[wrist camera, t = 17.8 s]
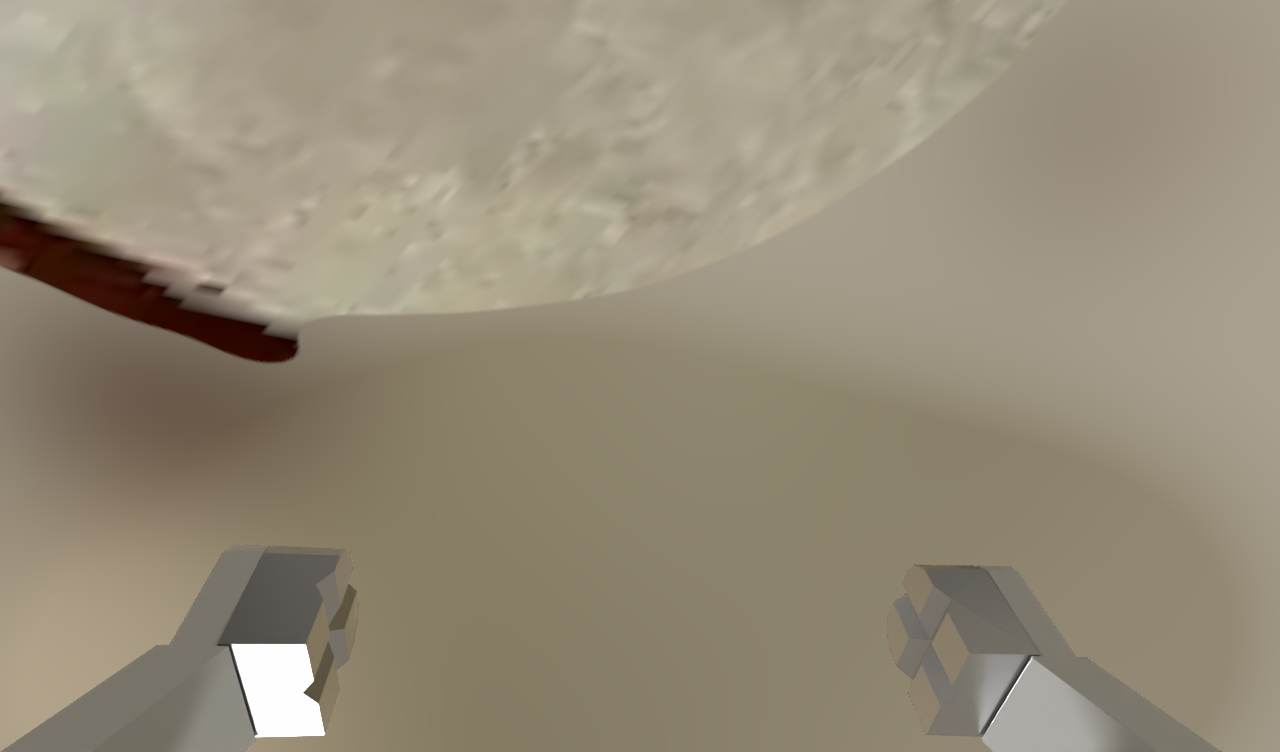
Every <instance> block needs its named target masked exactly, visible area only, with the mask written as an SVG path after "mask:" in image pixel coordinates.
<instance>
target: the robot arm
mask: <svg viewBox="0 0 1280 752" xmlns="http://www.w3.org/2000/svg"><path fill="white" fill-rule="evenodd" d="M353 569H354V568H353V562H352V557H351V552H350V551H348V550H346V549H330V548H310V547H289V546H259V545H239V544H233V545H232V546H230V547H229V548H228V549H227V550H226V551H224V552H223V553H222V555H221V557H220V558H219V560H218V562H217V563H216V565H215V567H214V569H213V570H212V572H211V574H210V576H209V577H208V579H207V581H206V582H205V584H204V586H203V587H202V589H201V591H200V593H199V594H198V596H197V598H196V599H195V601H194V603H193V605H192V606H191V608H190V610H189V612H188V613H187V615H186V617H185V618H184V620H183V622H182V624H181V625H180V627H179V629H178V630H177V632H176V634H175V636H174V638H173V639H172V641H171V643H170V644H169V645H156V646H155V647H153V648H152V649H150V650H149V651H147V652H146V653H145V654H143V655H142V656H140V657H139V658H137V659H136V660H134V661H133V662H131V663H130V664H128V665H127V666H126V667H124V668H123V669H121V670H120V671H118V672H117V673H115V674H114V675H112V676H111V677H109V678H108V679H106V680H105V681H103V682H102V683H100V684H99V685H98V686H96V687H95V688H93V689H92V690H90V691H89V692H87V693H86V694H84V695H83V696H81V697H80V698H79V699H77V700H76V701H74V702H73V703H71V704H70V705H69V706H67V707H65V708H64V709H62V710H61V711H60V712H58V713H57V714H55V715H54V716H52V717H51V718H49V719H48V720H47V721H45V722H43V723H42V724H41V725H39V726H38V727H36V728H35V729H33V730H32V731H30V732H29V733H27V734H26V735H24V736H23V737H22V738H20V739H19V740H17V741H16V742H14V743H13V744H11V745H10V746H8V747H7V748H5V749H4V750H2V751H1V752H246V751H247V750H248V749H249V748H250V747H251V746H252V745H253V744H254V743H255V742H256V739H255V737H277V736H314V735H325V732H326V729H327V726H328V723H329V720H330V717H331V714H332V711H333V708H334V705H335V701H336V699H337V695H338V692H339V683H338V676H337V670H338V669H339V668H340V667H341V666H342V665H344V664H345V663H346V662H347V661H348V660H349V658H350V655H351V652H352V648H353V645H354V641H355V636H356V629H357V624H358V605H359V604H358V596H357V591H356V590H355V589H354V588H353V587H352V586H351V585H349V584H348V583H349V580H350V578H351V575H352V572H353ZM902 583H903V585H904V588H905V590H906V592H907V593H906V594H904V595H903V596H902V597H900V598H899V599H897V600H896V601H895V602H893V604H892V607H891V610H890V613H889V615H888V619H887V638H888V643H889V647H890V651H891V654H892V656H893V659H894V661H895V664H896V666H897V667H898V668H899V669H901V670H902V671H903V672H904V673H906V675H908V676H909V677H910V678H911V679H912V681H911V685H910V687H909V691H908V695H909V697H910V699H911V702H912V704H913V706H914V709H915V711H916V713H917V715H918V718H919V720H920V722H921V725H922V727H923V729H924V732H925V734H926V735H941V736H944V735H945V736H976V737H983V738H982V741H983V742H984V743H985V744H986V745H987V746H988V747H989V748H990V749H991V750H992V751H993V752H1221V751H1220V750H1218V749H1217V748H1215V747H1214V746H1213V745H1211V744H1209V743H1208V742H1207V741H1205V740H1204V739H1203V738H1201V737H1200V736H1198V735H1197V734H1195V733H1194V732H1193V731H1191V730H1190V729H1188V728H1187V727H1185V726H1184V725H1182V724H1181V723H1179V722H1178V721H1177V720H1175V719H1174V718H1173V717H1171V716H1170V715H1168V714H1167V713H1165V712H1164V711H1163V710H1161V709H1160V708H1158V707H1157V706H1155V705H1154V704H1153V703H1151V702H1150V701H1148V700H1147V699H1145V698H1144V697H1143V696H1141V695H1140V694H1138V693H1137V692H1135V691H1134V690H1132V689H1131V688H1130V687H1128V686H1127V685H1125V684H1124V683H1123V682H1121V681H1120V680H1118V679H1116V678H1115V677H1114V676H1112V675H1111V674H1110V673H1108V672H1107V671H1105V670H1104V669H1102V668H1101V667H1100V666H1098V665H1097V664H1095V663H1094V662H1092V661H1091V660H1090V659H1088V658H1087V657H1076V655H1075V654H1074V652H1073V651H1072V649H1071V648H1070V647H1069V645H1068V644H1067V642H1066V641H1065V639H1064V638H1063V636H1062V635H1061V633H1060V632H1059V630H1058V629H1057V628H1056V626H1055V625H1054V623H1053V622H1052V620H1051V619H1050V617H1049V616H1048V614H1047V613H1046V611H1045V610H1044V608H1043V607H1042V605H1041V604H1040V602H1039V601H1038V600H1037V598H1036V597H1035V595H1034V594H1033V592H1032V591H1031V589H1030V588H1029V586H1028V585H1027V583H1026V582H1025V580H1024V579H1023V578H1022V576H1021V575H1020V574H1019V572H1018V571H1016V570H1015V569H1013V568H1012V567H1011V566H973V565H917V564H916V565H913V566H912V567H911V568H909V569H908V570H907V572H906V574H905V576H904V579H903V581H902Z"/></svg>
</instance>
